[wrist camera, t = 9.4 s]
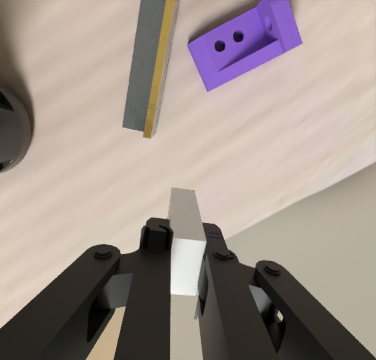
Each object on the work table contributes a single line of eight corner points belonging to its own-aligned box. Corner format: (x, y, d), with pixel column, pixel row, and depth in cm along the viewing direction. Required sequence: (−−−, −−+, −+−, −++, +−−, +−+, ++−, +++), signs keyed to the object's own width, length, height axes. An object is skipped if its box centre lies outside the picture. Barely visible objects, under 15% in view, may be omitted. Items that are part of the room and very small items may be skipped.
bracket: (264, 6, 36) (283, -17, 30) (281, 54, 38) (302, 43, 32) (187, 46, 38) (188, 33, 31) (207, 91, 39) (212, 88, 33)
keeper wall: (123, 126, 40) (112, 130, 34) (150, -57, 34) (143, -95, 28) (155, 133, 40) (150, 138, 34) (187, -47, 34) (189, -82, 28)
